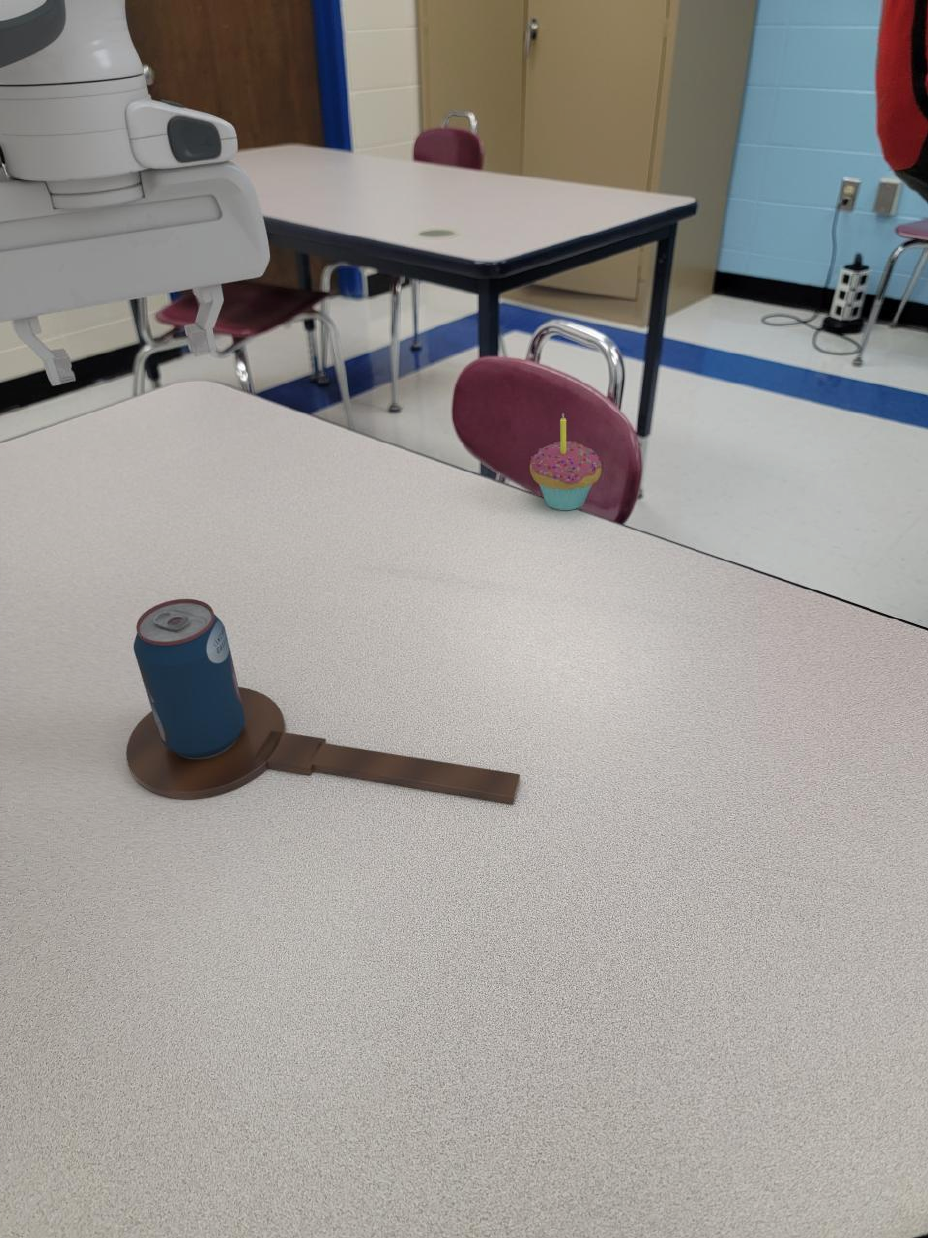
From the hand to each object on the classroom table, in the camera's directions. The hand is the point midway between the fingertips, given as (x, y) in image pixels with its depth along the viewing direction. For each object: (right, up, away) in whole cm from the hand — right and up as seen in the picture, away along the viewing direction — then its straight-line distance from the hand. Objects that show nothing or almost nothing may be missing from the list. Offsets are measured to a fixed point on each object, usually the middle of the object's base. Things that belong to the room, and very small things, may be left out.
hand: (135, 366), depth 61 cm
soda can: (+1, -27, +15) cm, 31 cm away
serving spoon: (+10, -29, +13) cm, 33 cm away
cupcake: (+34, -3, +48) cm, 59 cm away
